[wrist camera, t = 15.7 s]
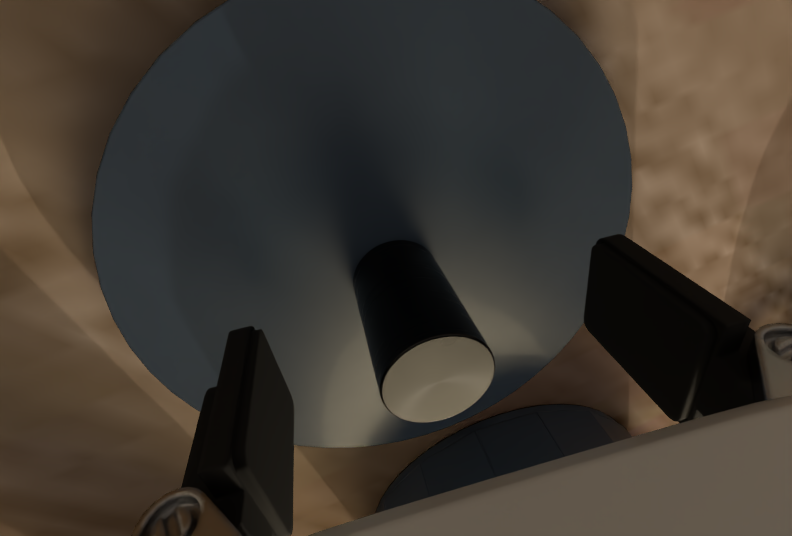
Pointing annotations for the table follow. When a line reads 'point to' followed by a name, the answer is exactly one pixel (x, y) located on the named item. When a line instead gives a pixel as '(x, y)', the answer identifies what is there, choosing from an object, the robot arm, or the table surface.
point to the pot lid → (362, 204)
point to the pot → (502, 449)
